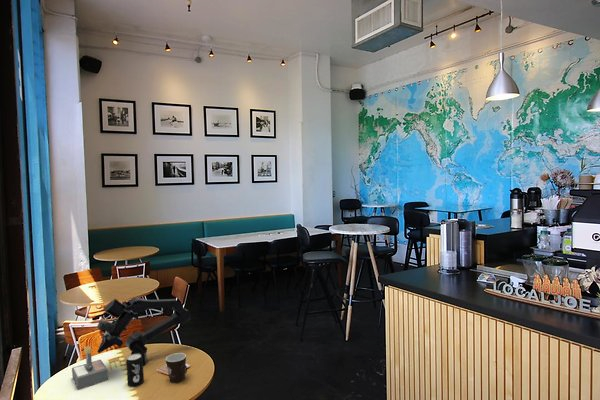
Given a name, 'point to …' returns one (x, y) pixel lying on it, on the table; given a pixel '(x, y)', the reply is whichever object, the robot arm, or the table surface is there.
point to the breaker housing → (89, 374)
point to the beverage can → (135, 370)
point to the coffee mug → (176, 367)
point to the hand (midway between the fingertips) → (98, 352)
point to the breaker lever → (88, 357)
